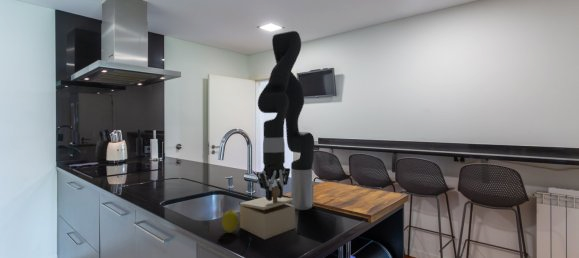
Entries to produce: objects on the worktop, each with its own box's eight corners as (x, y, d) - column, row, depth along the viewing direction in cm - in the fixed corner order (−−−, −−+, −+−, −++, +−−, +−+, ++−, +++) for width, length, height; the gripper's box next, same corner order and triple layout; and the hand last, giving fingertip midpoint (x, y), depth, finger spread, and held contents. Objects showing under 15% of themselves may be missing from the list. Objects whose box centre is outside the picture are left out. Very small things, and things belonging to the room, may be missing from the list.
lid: (269, 197, 114) (268, 181, 114) (294, 201, 104) (293, 182, 104) (240, 205, 104) (238, 187, 105) (264, 209, 94) (262, 189, 95)
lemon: (230, 237, 96) (230, 213, 96) (218, 233, 99) (218, 210, 99) (241, 231, 101) (241, 209, 101) (230, 228, 104) (230, 206, 104)
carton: (269, 218, 115) (269, 198, 114) (294, 227, 104) (294, 206, 104) (240, 227, 105) (240, 205, 104) (264, 239, 95) (264, 215, 94)
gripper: (281, 147, 108) (282, 193, 109) (250, 151, 98) (251, 201, 99) (295, 149, 103) (296, 197, 104) (264, 152, 93) (265, 205, 94)
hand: (274, 198), depth 101 cm, fingers closed on lid, 4 cm apart
